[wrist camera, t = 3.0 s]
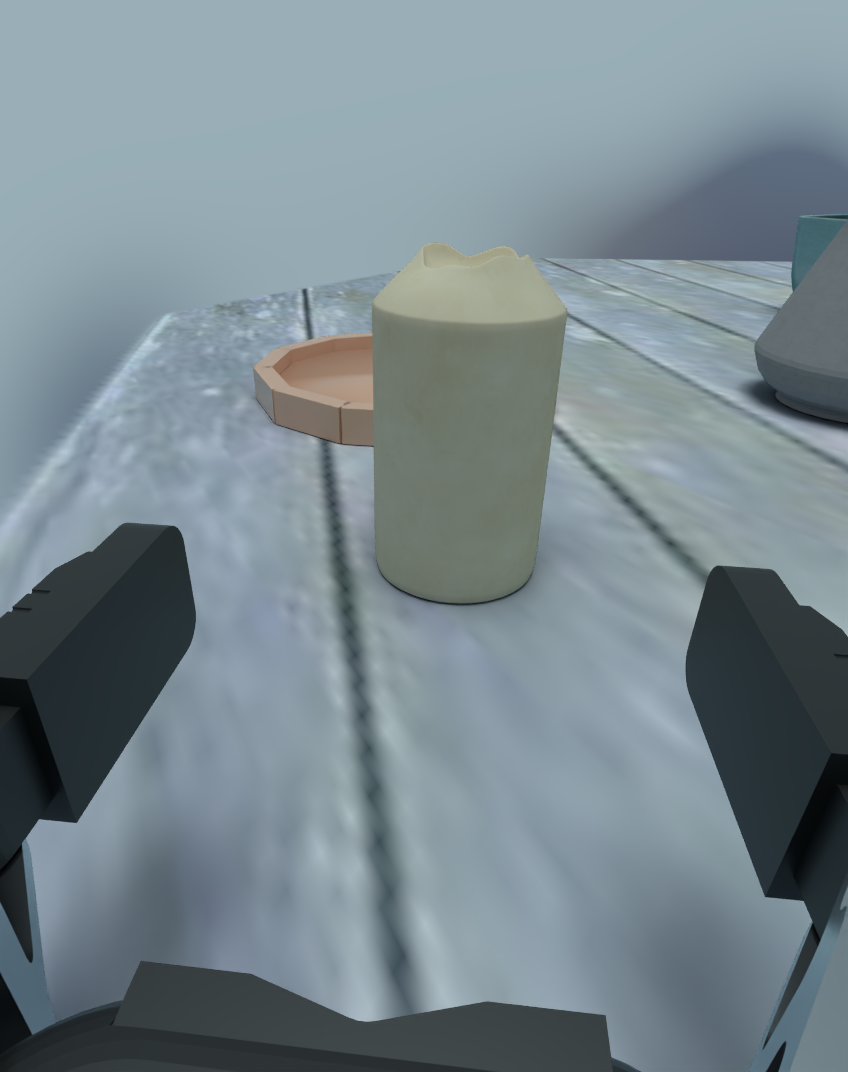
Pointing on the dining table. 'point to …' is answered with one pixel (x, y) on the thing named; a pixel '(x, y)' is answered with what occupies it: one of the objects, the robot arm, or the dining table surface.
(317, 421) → the saucer
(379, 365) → the candle
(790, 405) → the coffee pot
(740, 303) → the dining table surface
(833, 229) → the flower pot
